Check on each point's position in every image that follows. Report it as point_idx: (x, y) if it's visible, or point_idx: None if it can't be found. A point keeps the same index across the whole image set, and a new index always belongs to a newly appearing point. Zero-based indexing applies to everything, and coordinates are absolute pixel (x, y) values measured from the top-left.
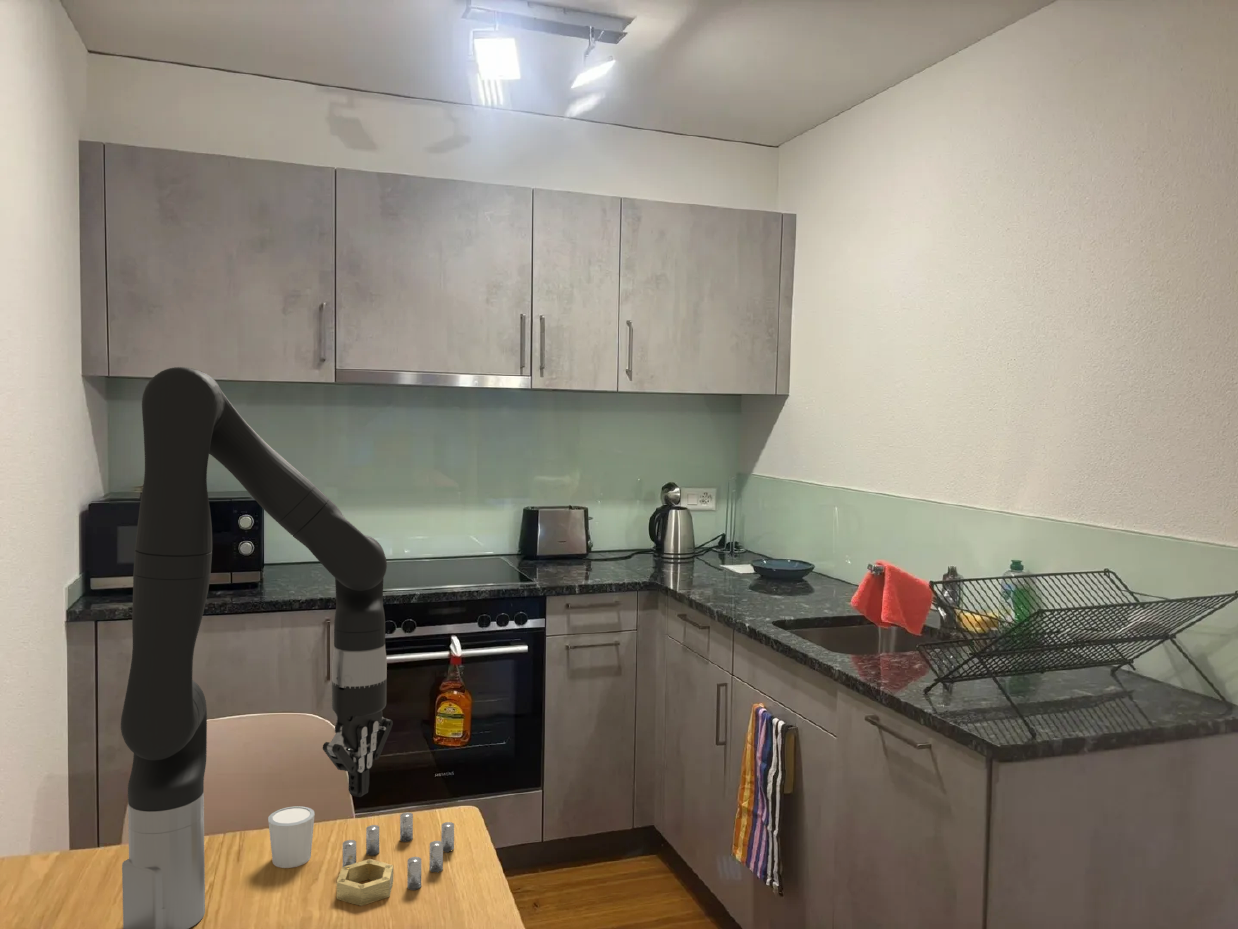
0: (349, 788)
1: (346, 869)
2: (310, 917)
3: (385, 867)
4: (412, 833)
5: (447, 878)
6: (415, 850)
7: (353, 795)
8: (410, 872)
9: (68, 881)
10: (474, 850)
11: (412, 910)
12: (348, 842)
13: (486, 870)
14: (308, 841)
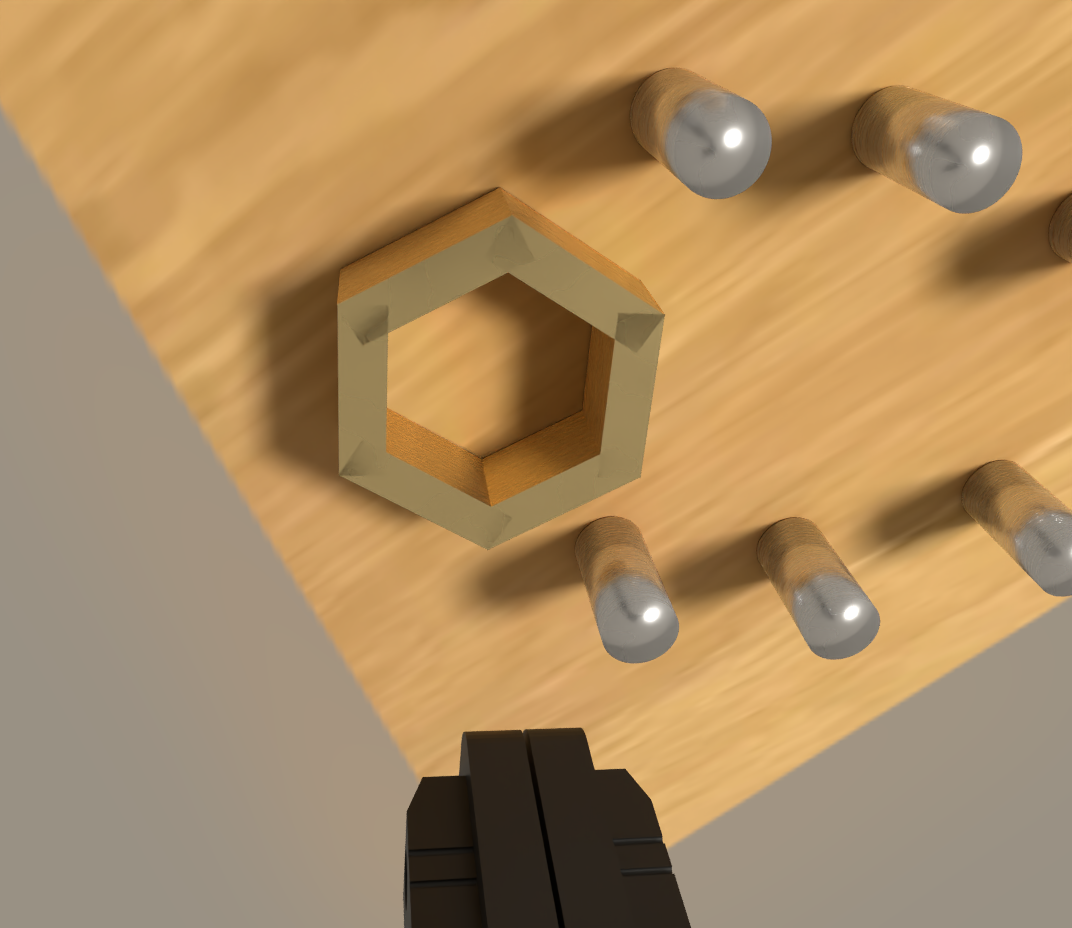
0: (406, 840)
1: (495, 263)
2: (115, 252)
3: (600, 456)
4: None
5: (726, 627)
6: (961, 347)
7: (462, 760)
8: (591, 602)
9: None
10: (1003, 597)
11: (421, 645)
12: (728, 137)
13: (835, 721)
14: None
